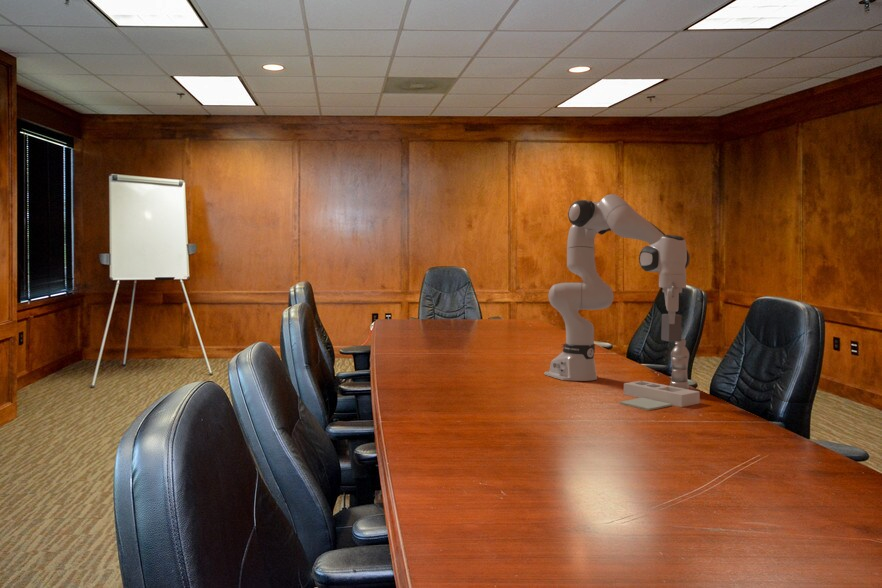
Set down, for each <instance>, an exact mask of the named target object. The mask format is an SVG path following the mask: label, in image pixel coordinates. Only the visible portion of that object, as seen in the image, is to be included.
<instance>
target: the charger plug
mask: <svg viewBox="0 0 882 588" xmlns="http://www.w3.org/2000/svg"><path fill="white" fill-rule="evenodd" d="M682 317H683V315H682V314H676V313H675V323H674V324H669V314H668V313H661V327H660V328H661V330H660V331H661V333H660V334H661V335H660V337H661V338H660V339H661V341H664V342H669V343H671V342H674V343H675V342H680V341H681V339H682V322H683V321H682V320H683V319H682Z"/></svg>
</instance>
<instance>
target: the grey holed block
mask: <svg viewBox="0 0 882 588" xmlns="http://www.w3.org/2000/svg"><path fill="white" fill-rule="evenodd" d="M700 394H701V391H698V390H693V389H683V388H678V387H673V386H670V385H666V384H663V383H662V384H660V383H656V382H650V381H646V380H636V381H631V382H624V383H623V395H625V396H629V397H633V398H647V399H651V400H656V401H660V402H665V403H669V404H672V406H673V407H674V406H675V407H679V408H684V407H689V406H693V405H698V404H700V400H701V399H700V397H701V396H700Z"/></svg>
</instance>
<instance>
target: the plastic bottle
mask: <svg viewBox="0 0 882 588" xmlns="http://www.w3.org/2000/svg"><path fill="white" fill-rule="evenodd" d="M686 342H687V341H686V338H685V339H684V338H681V341H680V342H674V345H675V346H673V348H672V350H671V351H670V359H671V360H670V361H671V377H670V378H671V379H670V383H669V386H673V387H678V388H683V389H688V390H690V387H689V379H688V378H689V377H688V367H689V360H690V351H689V350H688V348H687V347H686V345H687V343H686Z"/></svg>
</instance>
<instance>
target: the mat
mask: <svg viewBox="0 0 882 588" xmlns="http://www.w3.org/2000/svg"><path fill="white" fill-rule="evenodd" d="M619 405H624V406H629V407H632V408H637V409H641V410H646V411H652V410H658V409H662V408H669V407H671V406H673V405H672V404H669V403H665V402H660V401H656V400H651V399H647V398H638V397H636V398H633V399H628V400H623V401H622V400H621V401H619Z"/></svg>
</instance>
